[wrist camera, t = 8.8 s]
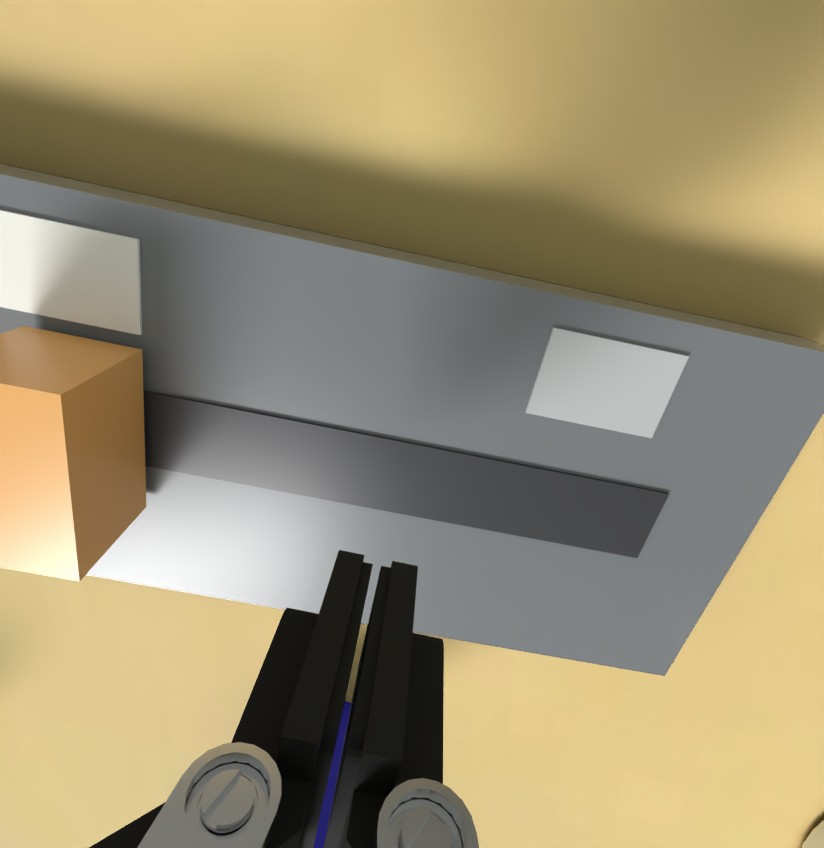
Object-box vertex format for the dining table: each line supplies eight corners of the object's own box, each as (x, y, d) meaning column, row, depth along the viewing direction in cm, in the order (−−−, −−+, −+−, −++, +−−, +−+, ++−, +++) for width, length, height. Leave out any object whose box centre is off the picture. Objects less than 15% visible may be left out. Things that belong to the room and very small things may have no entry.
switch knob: (142, 349, 13) (60, 394, 10) (146, 506, 15) (79, 581, 12) (24, 325, 13) (-94, 365, 10) (44, 488, 15) (-48, 559, 12)
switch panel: (804, 338, 15) (859, 360, 13) (642, 631, 20) (665, 678, 18) (-121, 137, 13) (-213, 128, 11) (-41, 508, 18) (-95, 545, 16)
